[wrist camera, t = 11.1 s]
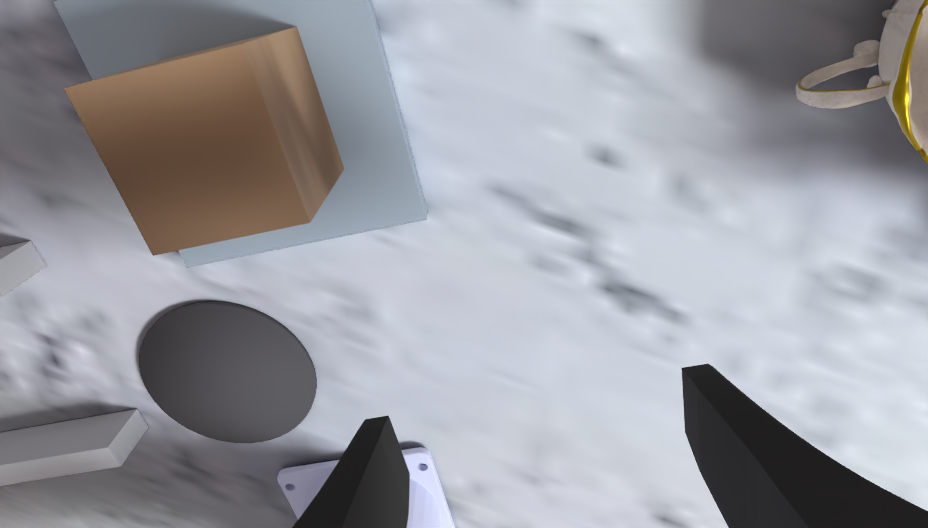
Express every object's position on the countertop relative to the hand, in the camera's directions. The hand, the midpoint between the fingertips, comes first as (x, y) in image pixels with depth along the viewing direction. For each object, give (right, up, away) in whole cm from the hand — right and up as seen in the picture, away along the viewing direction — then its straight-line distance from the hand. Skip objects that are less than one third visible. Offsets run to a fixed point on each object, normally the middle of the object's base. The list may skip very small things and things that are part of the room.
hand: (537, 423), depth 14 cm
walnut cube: (-9, +9, +6) cm, 14 cm away
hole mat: (-13, -1, +13) cm, 18 cm away
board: (-9, +9, +7) cm, 15 cm away
